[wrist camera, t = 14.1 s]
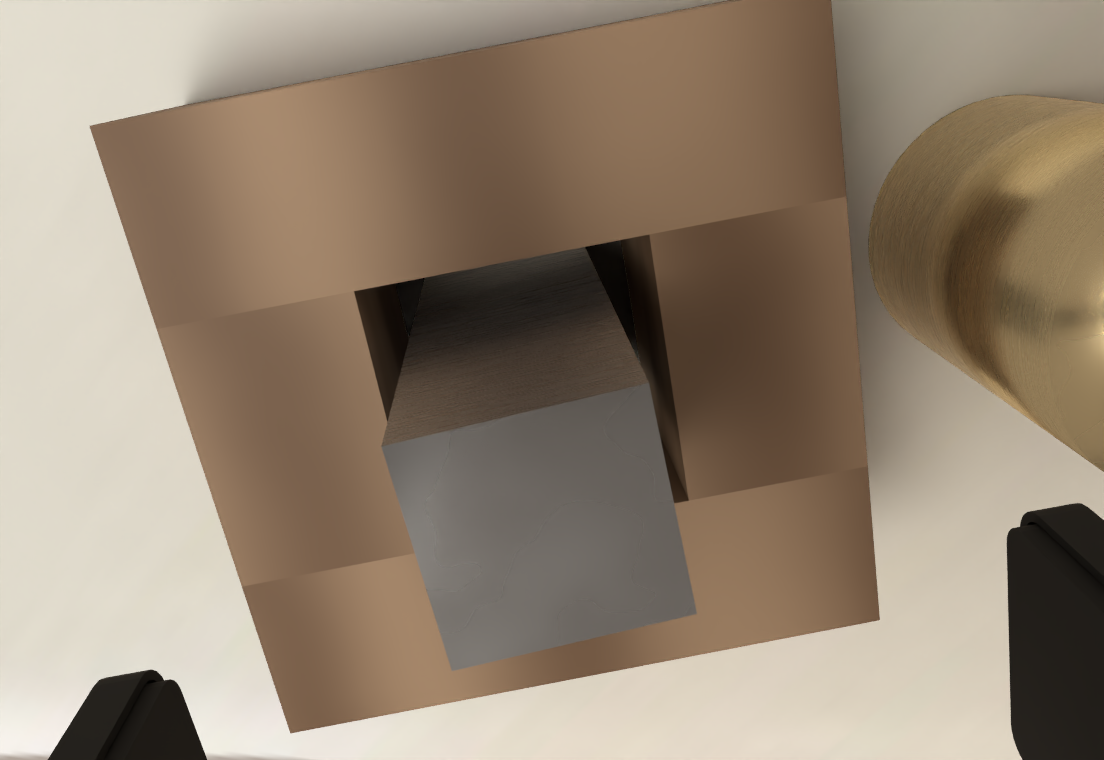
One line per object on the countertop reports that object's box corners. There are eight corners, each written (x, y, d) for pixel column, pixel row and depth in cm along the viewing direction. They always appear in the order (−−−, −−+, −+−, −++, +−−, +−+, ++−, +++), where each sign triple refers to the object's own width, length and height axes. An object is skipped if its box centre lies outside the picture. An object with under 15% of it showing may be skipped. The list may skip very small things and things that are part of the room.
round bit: (1127, 69, 25) (1452, 86, 17) (1125, 328, 27) (1409, 458, 19) (857, 125, 25) (1044, 170, 17) (879, 377, 27) (1052, 529, 19)
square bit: (576, 230, 26) (648, 383, 14) (608, 372, 27) (696, 614, 16) (428, 266, 26) (381, 446, 14) (466, 405, 27) (452, 671, 16)
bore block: (748, -4, 24) (829, -17, 18) (801, 505, 29) (879, 619, 23) (183, 105, 24) (89, 125, 18) (329, 595, 29) (290, 733, 23)
